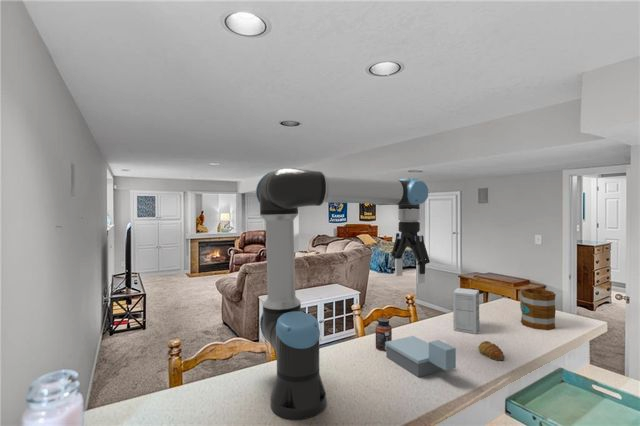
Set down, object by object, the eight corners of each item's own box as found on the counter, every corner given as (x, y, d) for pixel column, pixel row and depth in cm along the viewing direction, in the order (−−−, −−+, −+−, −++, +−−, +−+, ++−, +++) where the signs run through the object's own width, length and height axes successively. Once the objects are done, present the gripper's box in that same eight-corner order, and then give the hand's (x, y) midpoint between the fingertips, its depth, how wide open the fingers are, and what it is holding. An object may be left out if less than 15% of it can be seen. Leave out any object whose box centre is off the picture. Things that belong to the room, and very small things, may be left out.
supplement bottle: (391, 353, 125) (391, 322, 125) (375, 352, 126) (375, 321, 126) (391, 347, 131) (391, 317, 131) (375, 345, 132) (375, 316, 132)
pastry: (509, 361, 119) (509, 350, 119) (491, 362, 118) (491, 351, 118) (492, 349, 128) (492, 339, 128) (475, 351, 127) (475, 341, 127)
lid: (435, 373, 99) (434, 353, 99) (385, 344, 120) (385, 327, 120) (465, 364, 105) (465, 345, 105) (413, 338, 126) (413, 322, 126)
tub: (418, 379, 106) (418, 363, 106) (386, 359, 120) (386, 344, 120) (446, 371, 111) (446, 355, 111) (413, 352, 126) (413, 338, 126)
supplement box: (480, 328, 150) (480, 289, 150) (476, 334, 143) (477, 294, 142) (457, 324, 156) (457, 287, 155) (452, 330, 148) (452, 291, 147)
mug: (563, 330, 147) (563, 295, 147) (531, 330, 147) (531, 295, 147) (535, 315, 167) (535, 285, 166) (507, 315, 167) (507, 285, 167)
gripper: (440, 222, 114) (440, 285, 115) (398, 219, 138) (399, 272, 138) (421, 222, 112) (421, 287, 112) (382, 220, 135) (382, 273, 136)
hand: (409, 279), depth 125 cm, fingers open, 13 cm apart
